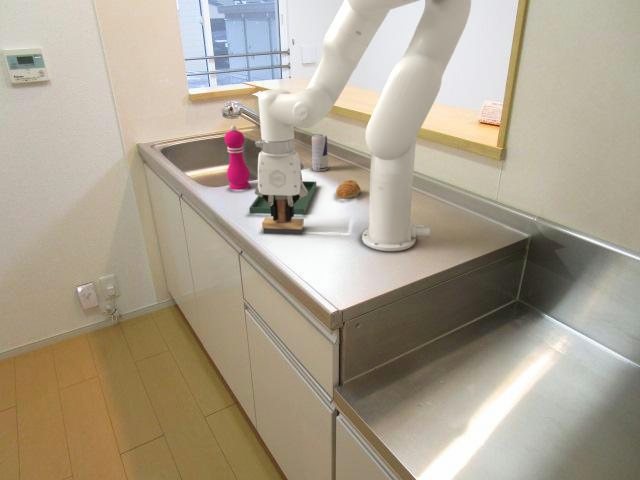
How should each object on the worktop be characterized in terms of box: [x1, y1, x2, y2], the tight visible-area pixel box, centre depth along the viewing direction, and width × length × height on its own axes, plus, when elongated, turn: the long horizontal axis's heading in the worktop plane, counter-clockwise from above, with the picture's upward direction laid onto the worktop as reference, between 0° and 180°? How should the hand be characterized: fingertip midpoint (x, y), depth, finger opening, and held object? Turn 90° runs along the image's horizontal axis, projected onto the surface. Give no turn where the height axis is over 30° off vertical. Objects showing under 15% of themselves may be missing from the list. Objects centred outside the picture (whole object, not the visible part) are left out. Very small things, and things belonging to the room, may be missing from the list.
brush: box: [261, 196, 305, 236], centre depth 112 cm, size 10×4×9 cm, turn 82°
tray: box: [249, 180, 317, 216], centre depth 132 cm, size 15×23×2 cm, turn 172°
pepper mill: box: [224, 124, 251, 191], centre depth 140 cm, size 7×7×20 cm
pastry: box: [336, 179, 361, 200], centre depth 134 cm, size 9×7×4 cm
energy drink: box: [311, 133, 329, 172], centre depth 158 cm, size 5×5×12 cm
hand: (282, 218), depth 112 cm, fingers closed on brush, 2 cm apart
